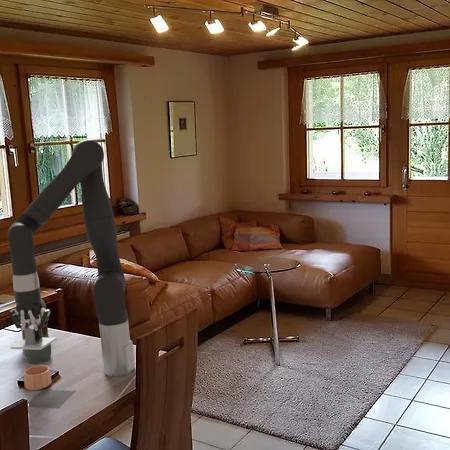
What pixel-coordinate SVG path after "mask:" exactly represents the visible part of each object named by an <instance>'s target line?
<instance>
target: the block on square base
mask: <svg viewBox="0 0 450 450" xmlns="http://www.w3.org/2000/svg"><path fill="white" fill-rule="evenodd" d="M41 332H42V329H41ZM24 333H25V340H23V339H22V340H21V341H19V342H17V343H15V344H14V345H12V346H10V350H23V349H32V350H41V349H43V348H44V347H46V346H47V345H49V344H51V345H52V343H54V342H55V341H57V340H58V338H57V337H49V338H45V337H42V339H41V340H40V341H39V342H36V340H35V330H34V326H33V324H32V325H30V326H29V327H27V328H25V329H24Z"/></svg>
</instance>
